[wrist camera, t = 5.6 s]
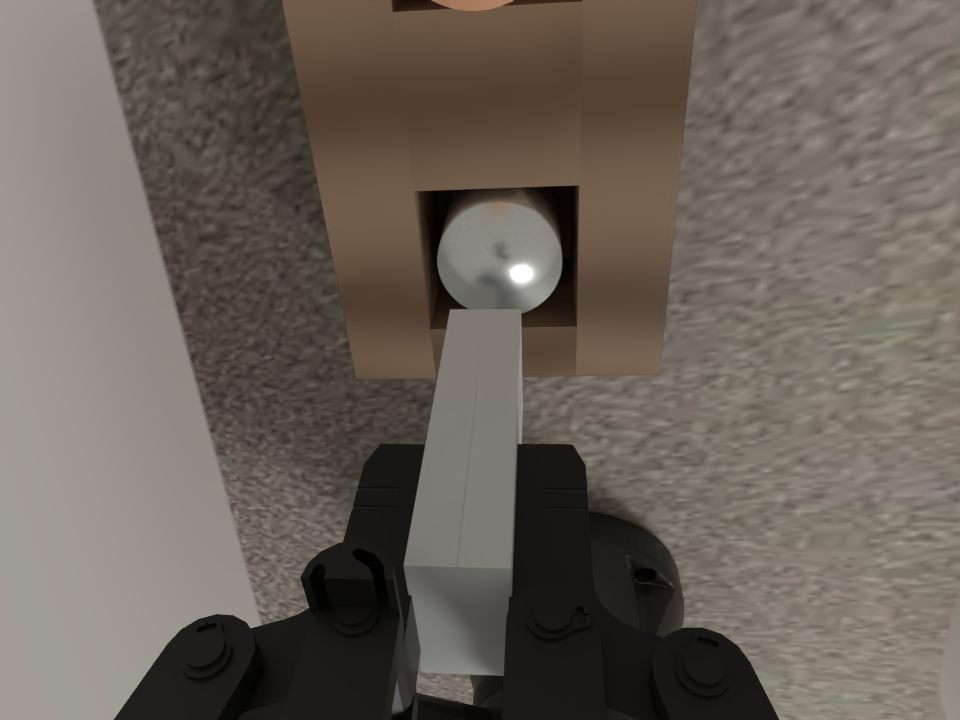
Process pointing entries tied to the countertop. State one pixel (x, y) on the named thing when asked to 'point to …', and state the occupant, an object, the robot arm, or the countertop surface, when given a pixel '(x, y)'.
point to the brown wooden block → (498, 164)
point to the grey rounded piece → (501, 247)
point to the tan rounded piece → (472, 4)
